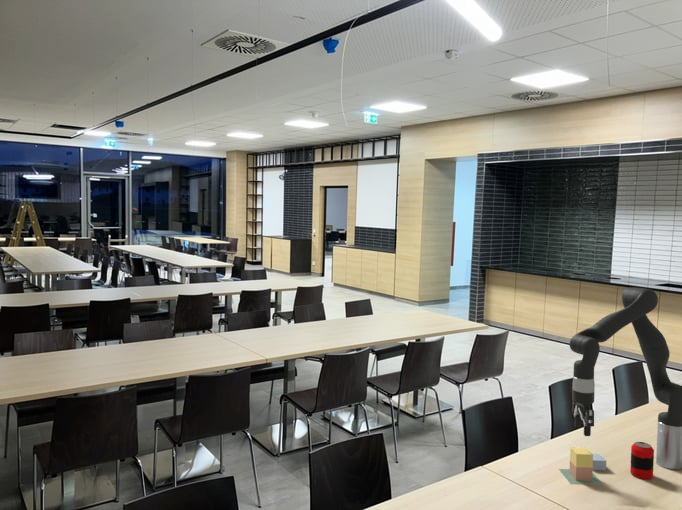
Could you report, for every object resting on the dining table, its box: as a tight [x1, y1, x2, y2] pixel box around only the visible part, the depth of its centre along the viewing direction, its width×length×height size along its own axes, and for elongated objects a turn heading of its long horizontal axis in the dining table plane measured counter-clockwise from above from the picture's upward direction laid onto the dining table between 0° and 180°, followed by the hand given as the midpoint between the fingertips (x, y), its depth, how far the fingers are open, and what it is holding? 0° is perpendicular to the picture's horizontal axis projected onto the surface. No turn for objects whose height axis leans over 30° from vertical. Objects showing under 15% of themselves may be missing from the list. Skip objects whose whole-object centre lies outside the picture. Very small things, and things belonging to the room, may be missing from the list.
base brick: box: [569, 460, 594, 481], centre depth 199 cm, size 6×6×5 cm
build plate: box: [558, 468, 605, 486], centre depth 199 cm, size 12×12×1 cm
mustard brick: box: [569, 446, 594, 468], centre depth 199 cm, size 6×6×5 cm
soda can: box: [629, 441, 655, 480], centre depth 203 cm, size 8×8×12 cm
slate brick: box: [592, 453, 607, 471], centre depth 208 cm, size 6×6×5 cm
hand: (582, 431), depth 198 cm, fingers open, 8 cm apart
